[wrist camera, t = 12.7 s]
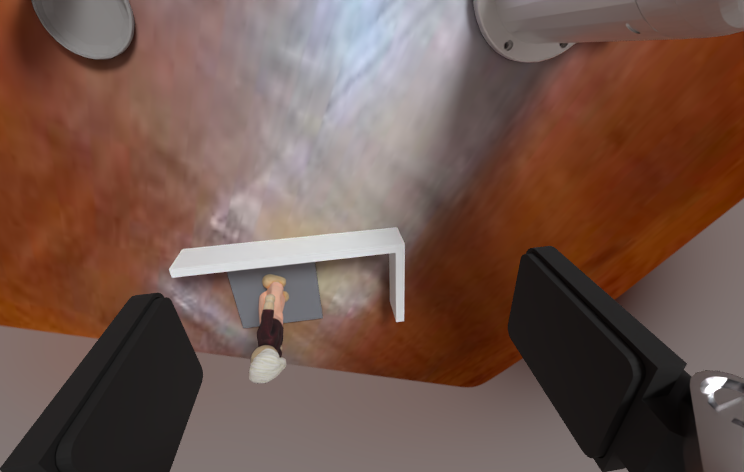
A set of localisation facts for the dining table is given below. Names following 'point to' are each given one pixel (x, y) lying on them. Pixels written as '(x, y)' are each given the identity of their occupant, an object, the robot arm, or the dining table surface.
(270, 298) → the grandmother figurine
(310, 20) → the dining table surface
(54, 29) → the pocket watch
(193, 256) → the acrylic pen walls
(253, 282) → the slate mat
